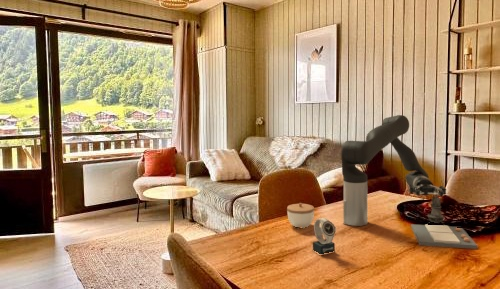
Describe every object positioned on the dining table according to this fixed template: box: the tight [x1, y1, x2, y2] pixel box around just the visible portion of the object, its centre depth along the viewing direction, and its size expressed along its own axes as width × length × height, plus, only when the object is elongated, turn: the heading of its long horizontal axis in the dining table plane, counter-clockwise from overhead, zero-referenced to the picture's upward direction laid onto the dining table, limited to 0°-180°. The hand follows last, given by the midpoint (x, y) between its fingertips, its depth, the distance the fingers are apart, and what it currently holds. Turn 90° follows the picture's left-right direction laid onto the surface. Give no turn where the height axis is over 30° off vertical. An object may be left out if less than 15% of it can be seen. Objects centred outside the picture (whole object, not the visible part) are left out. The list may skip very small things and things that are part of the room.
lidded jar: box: [286, 202, 315, 229], centre depth 141 cm, size 11×11×9 cm
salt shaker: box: [427, 194, 445, 223], centre depth 137 cm, size 6×6×12 cm
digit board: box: [410, 223, 478, 250], centre depth 125 cm, size 17×18×2 cm
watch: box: [312, 217, 336, 254], centre depth 115 cm, size 6×8×11 cm
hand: (430, 193), depth 148 cm, fingers open, 8 cm apart
